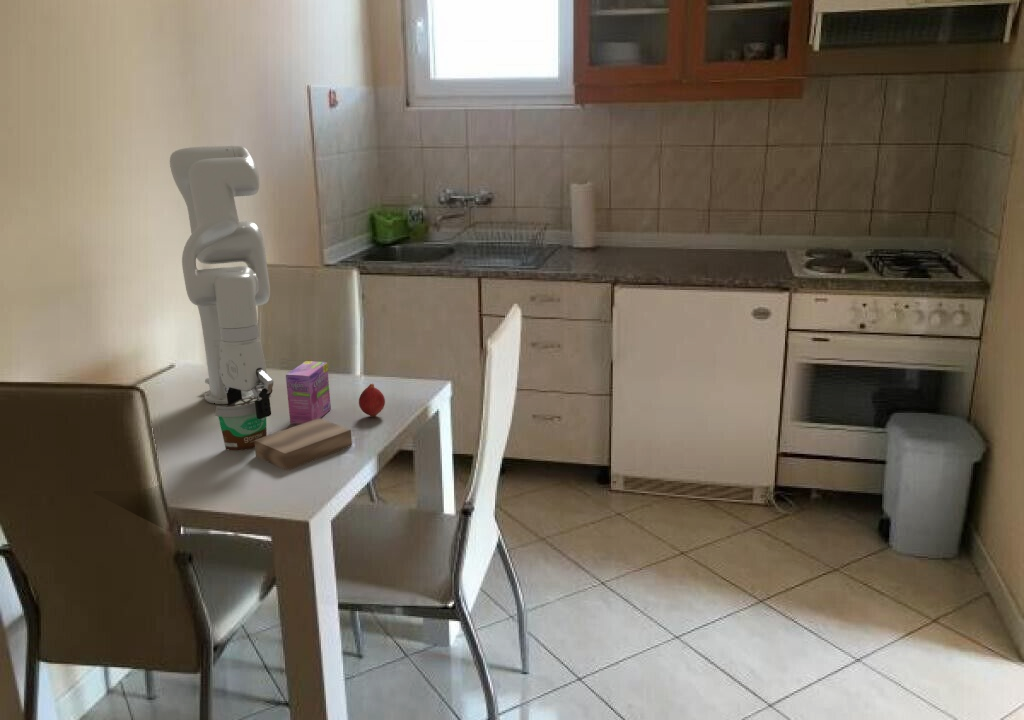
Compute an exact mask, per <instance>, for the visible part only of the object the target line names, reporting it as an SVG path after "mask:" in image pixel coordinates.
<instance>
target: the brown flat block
mask: <svg viewBox="0 0 1024 720" xmlns="http://www.w3.org/2000/svg"><path fill="white" fill-rule="evenodd" d="M254 443H255V448H254V450H255V457H256V458H258V457H259V459H261V460H263V461H265V462H267V461H268V463H270V464H272V465H274V466H277V467H279V468H281V469H284V470H285V471H288V470H289V471H290V470H291V469H294V468H297V467H299V466H302V465H305V464H308V463H310V462H313V461H315V459H316V460H319V459H321V458H323V456H324V457H327V456H328V454H329V455H331V454H334V453H337V452H338V450H339V451H341V449H342V450H344V449H343V448H345V449H347V448H349V447H348V446H350V447H352V446H353V439H352V430H351V429H350V428H347V427H344V426H341V425H339V424H336V423H333V422H331V421H328V420H325V419H324V418H318V419H315V420H312V421H309V422H306V423H303V424H296V425H295V426H292V427H288V428H286V429H282V430H280V431H277V432H274V433H270V434H268V435H267V436H265V437H262V438H259V439H256V440H254ZM351 445H352V446H351ZM346 447H347V448H346ZM336 451H337V452H336ZM312 460H313V461H312ZM307 462H308V463H307Z"/></svg>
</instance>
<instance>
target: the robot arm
mask: <svg viewBox="0 0 1024 720" xmlns="http://www.w3.org/2000/svg"><path fill="white" fill-rule="evenodd" d="M169 167H170V172H171V176H172V178H173V181H174V183H175V185H176V187H177V189H178V191H179V192H180V194H181V195H182V198H183V200H184V203H185V205H186V207H187V212H188V220H189V225H190V232H191V234H190V236H189V237H188V239H187V240H186V242H185V245H184V248H183V250H182V255H181V266H182V274H183V280H184V285H185V291H186V294H187V297H188V299H189V301H190V303H191V304H193V305H194V306H197V308H198V312H199V313H198V314H199V317H200V322H201V323H200V324H201V329H202V335H203V342H204V343H203V344H204V349H205V357H206V365H207V374H208V378H205V380H204V383H205V384H207V385H208V386H209V390H208V391H206V392H205V394H204V400H205V401H206V402H208V403H209V404H214V403H215V405H227V406H228V405H230V404H232V403H234V402H236V401H238V400H240V399H245V398H250V397H253V396H255V397H256V399H257V400H255V408H256V416H257V419H262V418H265V417H266V418H267V417H270V416H271V415H272V410H271V409H272V408H271V400H270V398H271V397H272V393H273V387H274V379H272V378H271V376H270V375H268V373H267V372H268V371H267V366H266V365H267V364H266V360H265V355H264V350H263V347H262V343H261V340H260V339H261V337H260V336H261V335H260V327H259V321H258V319H259V318H258V312H257V306H261V305H262V306H263V305H265V304H267V303H268V302H269V300H270V298H271V286H270V277H269V270H268V263H267V255H266V250H265V249H266V248H265V243H264V238H263V233H262V231H261V229H260V227H259V226H258V225H257V224H256V223H255V222H253V221H246V220H245V221H244V220H243V221H240V220H239V215H238V212H237V207H236V206H237V205H236V201H235V197H249V196H254V195H256V194H257V193H258V191H259V189H260V175H259V170H258V167H257V165H256V162H255V160H254V159H253V157H252V155H251V153H250V152H249V150H248V149H247V148H246V147H244V146H241V145H219V146H216V145H215V146H192V147H191V146H190V147H183V148H179V149H177V150H175V151H173V152H172V153H171V154H170V157H169ZM197 261H198V262H200V263H201V264H204V265H220V264H221V265H222V264H230V263H232V264H233V263H245V264H246V266H245V265H244V266H243V265H239V266H227V267H215V268H214V267H213V268H206V269H204V268H203V269H198V268H197ZM258 390H260V391H261V392H260V393H259V391H258Z"/></svg>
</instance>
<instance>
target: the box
mask: <svg viewBox="0 0 1024 720" xmlns="http://www.w3.org/2000/svg"><path fill="white" fill-rule="evenodd" d="M328 371H329V369H328V362H326V361H314V360H313V361H312V360H311V361H310V360H309V361H308V360H305V361H303V362H302V363H301V364H299V365H298V366H296V367H295V368H294V369H292V370H291V371H290V372H288V373H286V374H285V381H286V382H285V383H286V390H287V391H286V393H287V403H288V412H289V423H290V424H291V425H300V424H303V423H306V422H309V421H312V420H315V419H318V418H320V419H322V417H323V416H324V415H326V414H327V413H328V412H329V411H330V410H332V405H331V396H330V393H331V392H330V384H329V372H328Z"/></svg>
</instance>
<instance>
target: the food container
mask: <svg viewBox="0 0 1024 720" xmlns="http://www.w3.org/2000/svg"><path fill="white" fill-rule="evenodd" d="M258 391H259V393H260V392H261V391H262V390H261V389H258ZM255 400H257V399H256V397H255V396H253V397H250V398H245V399H240V400H238V401H236V402H234V403H232V404H230V405H228V404H227V405H226V406H222V405H221V406H220V405H216V406H215V407H216V408H215V414H214V415H215V417H218V421H219V426H220V429H221V434H222V439H223V442H224V447H225V450H227V449H229V451H246V450H245V449H247V450H250V449H252V450H253V449H255V443H254V440H256V439H259V438H262V437H265V436H268V435H267V417H265V418H262V419H257V416H256V408H255Z"/></svg>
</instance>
